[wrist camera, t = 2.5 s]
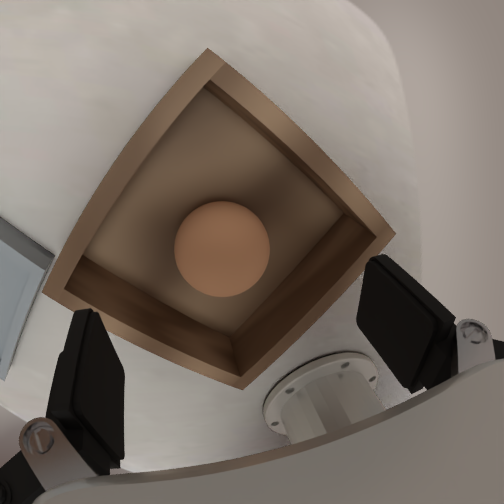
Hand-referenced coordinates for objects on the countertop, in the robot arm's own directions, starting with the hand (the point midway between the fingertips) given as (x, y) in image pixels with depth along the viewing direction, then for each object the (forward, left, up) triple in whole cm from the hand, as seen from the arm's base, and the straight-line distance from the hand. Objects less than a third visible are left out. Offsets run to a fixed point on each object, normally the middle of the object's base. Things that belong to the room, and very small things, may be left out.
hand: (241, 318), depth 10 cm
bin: (-1, 0, -10) cm, 10 cm away
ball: (-1, 0, -7) cm, 7 cm away
